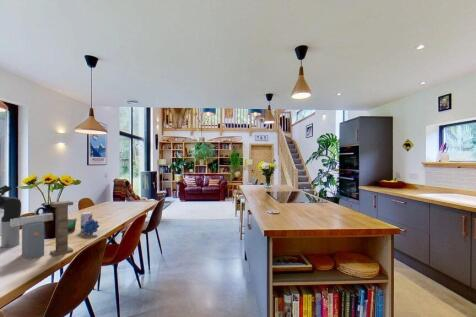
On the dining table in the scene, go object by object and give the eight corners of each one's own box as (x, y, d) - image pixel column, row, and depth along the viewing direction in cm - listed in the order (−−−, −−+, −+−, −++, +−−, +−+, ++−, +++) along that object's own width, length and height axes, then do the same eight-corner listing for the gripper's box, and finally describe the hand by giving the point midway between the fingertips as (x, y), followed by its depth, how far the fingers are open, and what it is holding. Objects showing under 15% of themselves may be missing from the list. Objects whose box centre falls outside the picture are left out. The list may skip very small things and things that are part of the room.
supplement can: (94, 229, 207) (94, 211, 208) (88, 232, 199) (88, 214, 199) (84, 229, 207) (84, 212, 207) (78, 232, 199) (78, 214, 199)
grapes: (100, 232, 199) (100, 217, 199) (98, 235, 193) (98, 219, 193) (83, 234, 195) (83, 219, 195) (81, 236, 189) (81, 221, 189)
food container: (56, 233, 198) (56, 220, 198) (60, 231, 204) (60, 219, 204) (74, 232, 201) (74, 219, 201) (76, 229, 207) (76, 218, 207)
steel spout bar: (10, 225, 146) (10, 219, 146) (50, 219, 162) (50, 213, 162) (12, 226, 143) (12, 219, 143) (52, 220, 160) (53, 213, 160)
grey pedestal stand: (50, 253, 155) (50, 202, 155) (68, 248, 163) (68, 200, 163) (54, 256, 150) (54, 204, 150) (73, 251, 158) (73, 201, 158)
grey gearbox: (21, 254, 153) (22, 222, 153) (37, 250, 160) (38, 220, 160) (28, 259, 146) (28, 225, 146) (44, 255, 152) (44, 222, 152)
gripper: (-23, 207, 141) (10, 191, 153) (-18, 210, 133) (16, 192, 144) (-32, 197, 138) (2, 181, 150) (-28, 199, 130) (8, 182, 141)
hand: (9, 186), depth 147 cm, fingers open, 8 cm apart
